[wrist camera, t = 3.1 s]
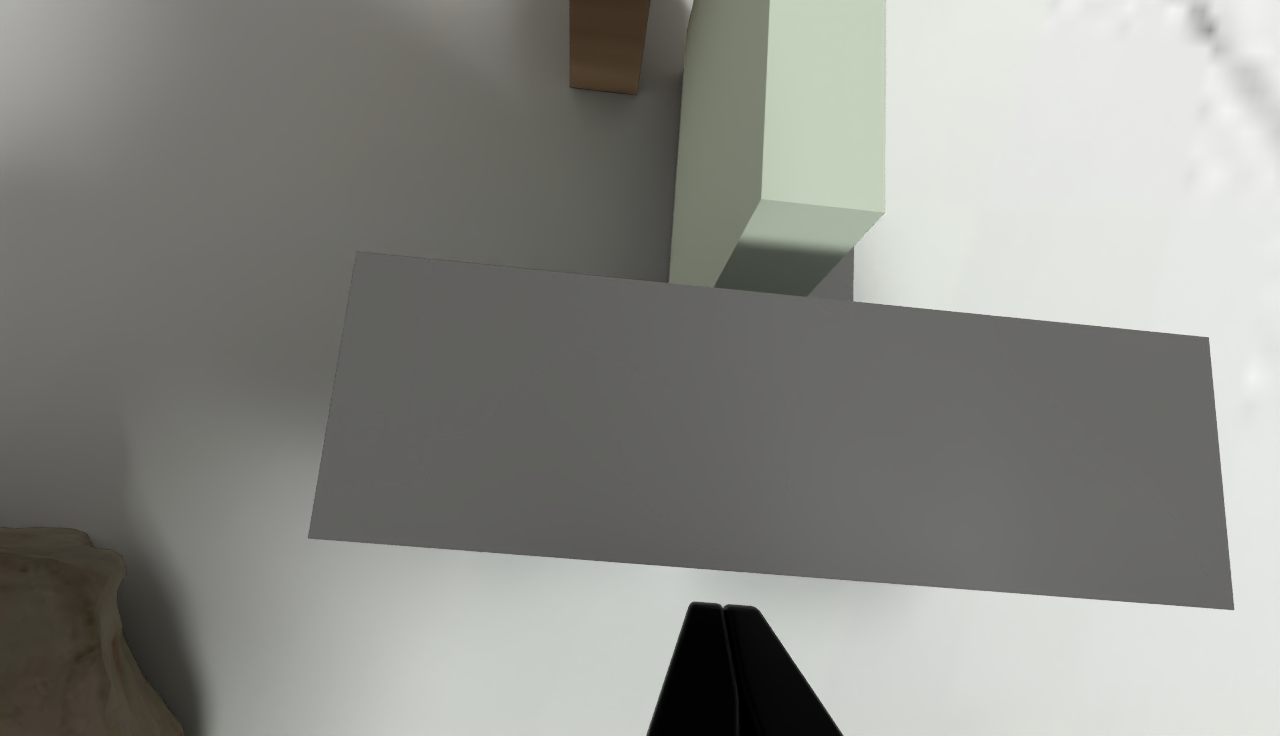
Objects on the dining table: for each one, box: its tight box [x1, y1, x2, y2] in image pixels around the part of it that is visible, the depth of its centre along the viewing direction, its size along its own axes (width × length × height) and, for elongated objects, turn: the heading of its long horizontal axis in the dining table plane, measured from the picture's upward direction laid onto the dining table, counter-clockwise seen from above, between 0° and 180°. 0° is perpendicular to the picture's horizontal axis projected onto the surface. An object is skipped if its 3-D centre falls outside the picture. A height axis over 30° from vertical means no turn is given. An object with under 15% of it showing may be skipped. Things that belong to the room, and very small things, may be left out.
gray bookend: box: [308, 70, 1234, 610], centre depth 13 cm, size 12×8×10 cm
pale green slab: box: [669, 0, 886, 297], centre depth 12 cm, size 8×2×8 cm, turn 176°
